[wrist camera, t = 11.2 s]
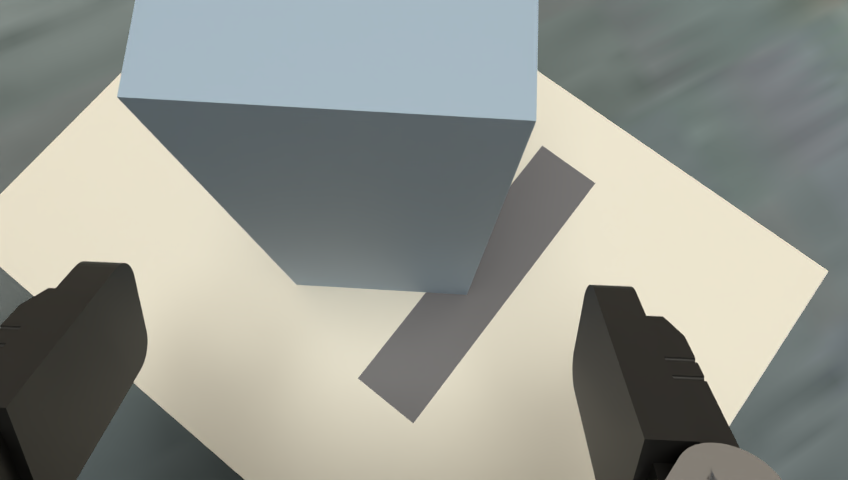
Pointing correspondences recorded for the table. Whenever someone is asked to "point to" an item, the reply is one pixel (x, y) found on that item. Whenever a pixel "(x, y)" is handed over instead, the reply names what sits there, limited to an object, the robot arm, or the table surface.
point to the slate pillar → (345, 125)
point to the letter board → (407, 303)
